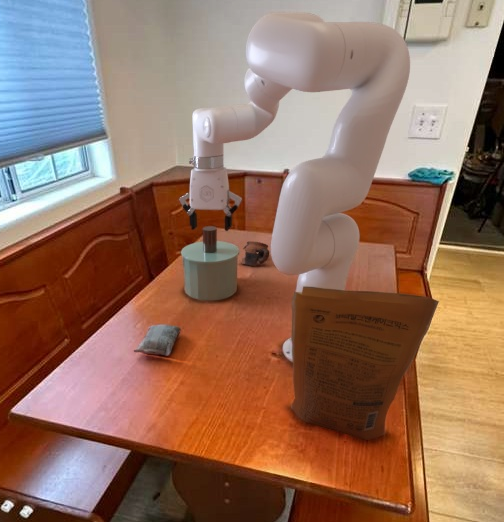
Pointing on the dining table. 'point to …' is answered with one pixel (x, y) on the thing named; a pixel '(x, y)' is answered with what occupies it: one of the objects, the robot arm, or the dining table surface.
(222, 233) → the dining table surface
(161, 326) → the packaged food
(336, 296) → the pancake mix bag
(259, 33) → the robot arm
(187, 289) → the pot
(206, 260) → the lid
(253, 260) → the pottery mug
